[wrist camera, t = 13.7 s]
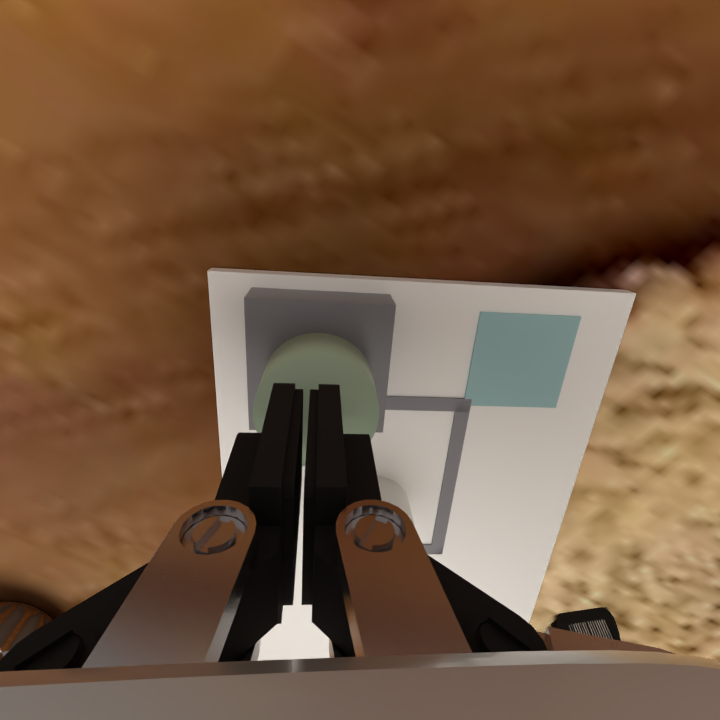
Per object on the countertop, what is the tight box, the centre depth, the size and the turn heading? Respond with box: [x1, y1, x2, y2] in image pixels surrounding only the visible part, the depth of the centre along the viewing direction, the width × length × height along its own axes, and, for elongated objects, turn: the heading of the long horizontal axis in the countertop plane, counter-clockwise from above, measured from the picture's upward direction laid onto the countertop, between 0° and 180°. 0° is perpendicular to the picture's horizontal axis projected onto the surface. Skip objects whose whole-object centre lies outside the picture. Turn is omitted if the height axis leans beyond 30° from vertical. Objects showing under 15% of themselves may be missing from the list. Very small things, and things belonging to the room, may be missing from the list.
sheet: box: [207, 268, 636, 661], centre depth 20 cm, size 16×22×1 cm
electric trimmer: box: [552, 608, 621, 641], centre depth 26 cm, size 4×15×3 cm, turn 6°
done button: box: [253, 333, 380, 466], centre depth 13 cm, size 4×4×2 cm
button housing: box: [244, 287, 396, 433], centre depth 16 cm, size 5×5×2 cm
